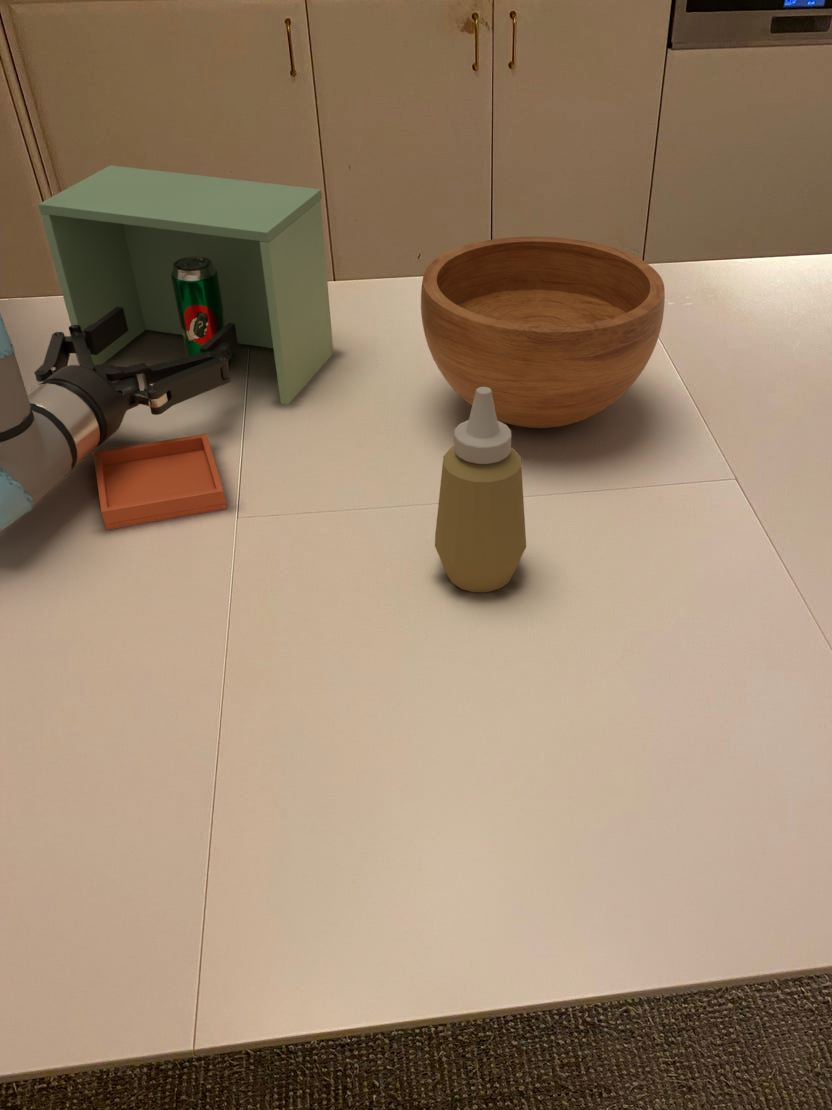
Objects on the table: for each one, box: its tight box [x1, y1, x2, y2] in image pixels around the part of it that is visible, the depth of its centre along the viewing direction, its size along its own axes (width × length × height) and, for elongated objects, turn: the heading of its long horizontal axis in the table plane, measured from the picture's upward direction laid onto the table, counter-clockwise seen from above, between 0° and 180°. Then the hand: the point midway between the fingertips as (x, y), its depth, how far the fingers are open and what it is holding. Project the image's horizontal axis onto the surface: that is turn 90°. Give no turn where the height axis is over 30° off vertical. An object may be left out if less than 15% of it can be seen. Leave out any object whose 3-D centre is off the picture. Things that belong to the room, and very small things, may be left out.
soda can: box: [171, 256, 232, 364], centre depth 114 cm, size 5×5×12 cm
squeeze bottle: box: [434, 387, 527, 593], centre depth 82 cm, size 8×8×18 cm
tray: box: [92, 433, 228, 531], centre depth 97 cm, size 11×11×2 cm
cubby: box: [37, 165, 335, 406], centre depth 112 cm, size 14×26×19 cm, turn 74°
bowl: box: [420, 236, 666, 429], centre depth 105 cm, size 25×25×15 cm
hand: (177, 326), depth 109 cm, fingers open, 13 cm apart
